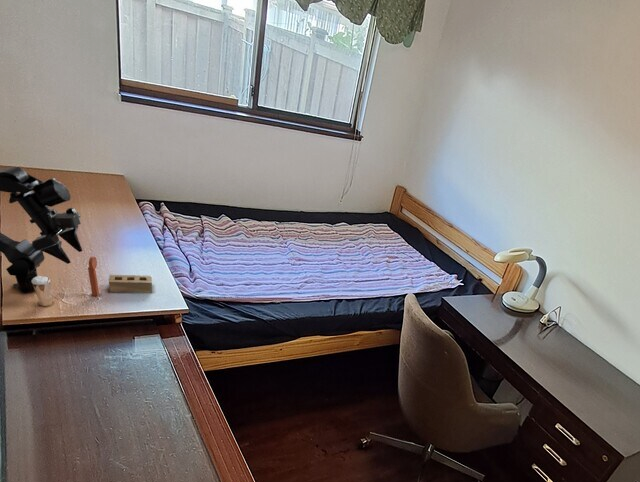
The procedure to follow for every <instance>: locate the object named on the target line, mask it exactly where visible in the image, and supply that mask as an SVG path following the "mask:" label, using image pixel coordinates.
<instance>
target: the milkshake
mask: <svg viewBox="0 0 640 482" xmlns="http://www.w3.org/2000/svg"><path fill="white" fill-rule="evenodd" d="M31 282H32V284H33V287H34V289H35V291H34V292H35V294H36V298H37V300H38V303H39V305H40V306H43V307H48V306H51V305H52V304H53V297H52V288H51V279H50V277H47V276H44V275H38V276H37V277H34V278H33V279H32V281H31Z"/></svg>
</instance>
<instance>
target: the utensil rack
mask: <svg viewBox="0 0 640 482" xmlns="http://www.w3.org/2000/svg"><path fill="white" fill-rule="evenodd" d="M108 288H109V293H135V294H136V293H137V294H138V293H139V294H140V293H141V294H142V293H145V294H146V293H147V294H148V293H150V294H151V293H153V279H152V275H140V274H136V275H135V274H134V275H133V274H109V278H108Z"/></svg>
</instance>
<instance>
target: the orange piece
mask: <svg viewBox="0 0 640 482" xmlns="http://www.w3.org/2000/svg"><path fill="white" fill-rule="evenodd" d="M97 266H98V260H97V257H96V256H90V257H89V259H88V267H87V270H88V271H87V272H88V277H89V283H90V289H91V296H92V297H99V295H100V291H99V284H98V278H97V277H98V276H97V270H96V269H97Z"/></svg>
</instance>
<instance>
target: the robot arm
mask: <svg viewBox="0 0 640 482" xmlns="http://www.w3.org/2000/svg"><path fill="white" fill-rule="evenodd" d="M0 192H2V193H3V192H4V193H8V194H9V200H8V203H9V204H13V203H16V202H17V203H18V204H19V205H20V206H21V208H22V209H23V211H25V212H26V214H27V215H28V216H29V218H30V219H29V222H30V224H35V225H36V226H37V228H38V229H39V230H40V232H39V235H40V236H38V237H36V238H34V240H32V242H30V241H29V240H28V239H25V238H24V239H22V240H21V241H18V240H14V239H12V238H10V237H8V236H7V235H6V234H4V233H2V232H0V253H2V254H3V256H4V257H5V259H6V260H7V261H8V262H9V263H11V264H10V265H9V266H8V267H7V268H6V271H7V273H8V275H10V276H14V277H15V281H16V283H13V284H12V286H13V287H14V288H15V289H16V290H18V291H19V292H20V293H22V294H24V295H25V294H29V293H33V292H35V289H34V287H33V284H32V282H31V281H32V279H33V278H34V277H37V276H39V274H38V270H37V268H38V267H40V266H41V264H42V263H43V262H44V261H45V255H44V253H45V254H48V255H49V256H52V257H53V258H55V259H57V260H60V261H61V262H63V263H65V264H67V265H69V264H71V263H72V261H71V260H70V258H69V255H67V253H66V251H65V250H64V249H63V247H62V244H63V243H62V240H64V241H65V242H66V243H67V244H68V245H69V246H71V247H72V248H73V249H74V250H76V251H77V252H79V253H81V252H83V248H82V245H81V243H80V240H79V237H78V234H77V232H78V229H79V226H80V225H81V220H80V218H81V214H79V212H78V211H77V210H76V209H75V208H74V207H69V208H67V209H66V211H65V212H61V213H59V212H58V211H57V210H56V209H54V208H52V207H55V206H57V205H61V204H63V203H66V202H69V201H70V200H71V193H70V191H69V189H68V187H67V186H66V185H64V184H63V183H61V181H57V179H56V178H55V177H51V178H49V179H47V180H45V181H43V180H40V179H39V178H36V177H35V176H33V175H32V174H29V173H27V172H26V171H25V170H24V169H22V168H21V167H18V166H11V167H5V168H1V169H0ZM51 208H52V209H51ZM59 237H60V238H61V239H62V240H60V238H59Z"/></svg>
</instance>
